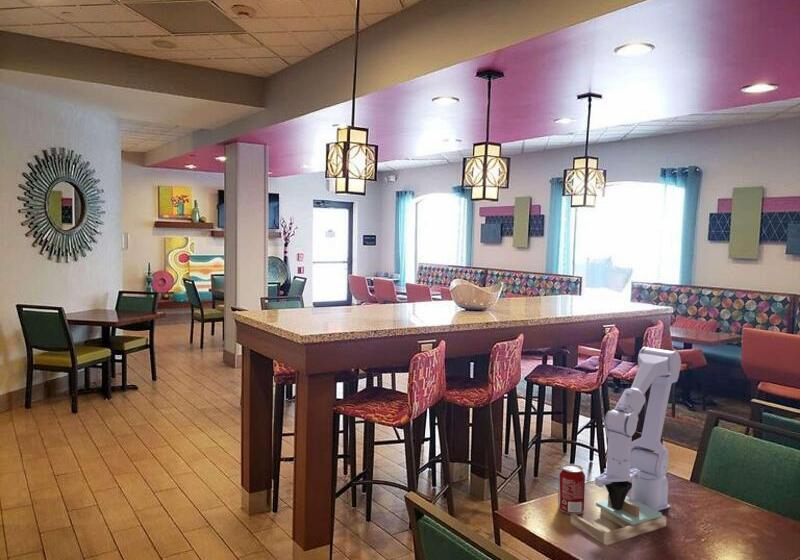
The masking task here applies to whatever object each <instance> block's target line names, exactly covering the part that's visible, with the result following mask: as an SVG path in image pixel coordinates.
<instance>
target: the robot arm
mask: <svg viewBox="0 0 800 560" xmlns="http://www.w3.org/2000/svg"><path fill="white" fill-rule="evenodd" d="M637 365H638V369H637V372H636V374H635V377H634V380H633V382H632V384H631V386H630V388H625V389H624V390H623V392H622V394H621V396H620V398H619V400H617V402H616V405H615V407H614V409H611V410H608V411H607V412H606V414H605V417H604V421H603V427H604V429H605V438H606V439H607V449H606V450H607V451H606V468H604V469H603V471H604V472H603V473H601V474H600V475H598V476H595V477H594V485H595V486H598V488H599V487H600V488H604V486H605V487H606V490H607V493H608V494H609V496H610V500H611V505H612V508H614V509H616V510H621V509H622V507H623V503H624V500H625V498H626V496H627V495H628V494H629V492H630V490H631V497H630V498H632V499H634V500H636V501H638V502H640V503H642V504H644V505H646V506H648V507H650V508H652V509H654V510H656V511H659V512H660V511H662V510H666V509H669V508H670V507H671V506H670V504H668V498H669V497H668V495H669V483H668V479H667V477H666V475H667V474H668V470H669V465H670V464H669V457H670V452H669V451H668V449H667V448H666V447H665V445H664V444H663V443H662V442H661V441H662V440H661V439H662V433H663V429H664V424H665V417H666V413H667V409H668V403H669V398H670V392H671V387H672V384H674V383H677V382H678V381H679V380H678V379H679V378H680V371H681V367H682V360H681V356H680V353H679V352H678V351H677V350H667V349H660V348H655V347H648V346H643V347H642V348H641V349H639V352H638V357H637ZM649 388H650V391H649V396H648V401H647V407H646V412H645V415H644V422H643V427H642V432H641V437H638V438H637V439H634V440H633V439H632V437H633V436H634V434H635V433H636V430H637V426H638V422H639V415H640V413H641V411H642V409H643V406H644V405H645V403H646V397H645V393H646V392H647V390H649ZM632 440H633V441H632ZM631 479H632V480H631ZM630 481H631V482H630ZM627 497H628V496H627Z"/></svg>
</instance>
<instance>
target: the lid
mask: <svg viewBox="0 0 800 560" xmlns="http://www.w3.org/2000/svg"><path fill="white" fill-rule="evenodd" d="M595 506H596V507H598V508H600V509H601V508H602V509H604V510H605V511H607V512H609V513H611V514H613V515H615V516H617V517H619V518H621V519H622V520H624V521H626V522H628V523H630V524H632V525H635V524H638V523H641V522H645V521H648V520H651V519H654V518H658V517H661V516H662V515H663V513H662V512H660V510H659V511H656V510H654V509H652V508H650V507H648V506H646V505H644V504H642V503H640V502H638V501H636V500H634V499H632V498H631V497H630V496H626V498H625V500H624V503H623V507H622V509H621V510H616V509H614V508H612V505H611V500H610V496H609V493H608V496H607V499H604V500H601V501H596V503H595Z"/></svg>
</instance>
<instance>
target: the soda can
mask: <svg viewBox="0 0 800 560" xmlns="http://www.w3.org/2000/svg"><path fill="white" fill-rule="evenodd" d="M585 486H586V474H585V472H584V468H583V466H580V465H579V464H574V463H565V464H562V465H561V469H560V470H559V472H558V497H557V498H558V501H557V508H558V510H559V511H562V512H563V513H564V512H565V513H564V514H566V513H567V515H570V516H571V514H575V515H577V516H578V515H579V514H582V513H584V512H585V495H586V494H585V493H586V488H585Z"/></svg>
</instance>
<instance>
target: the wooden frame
mask: <svg viewBox="0 0 800 560" xmlns="http://www.w3.org/2000/svg"><path fill="white" fill-rule="evenodd" d="M600 515H601V516H602V517H604V518H605V519H607V520H610V521H611V522H614V523H615V524H617V525H619V526H620V527H621V528H617V529H613V530H611V531H608V532H606V531H605V530H604V529H601V528H600V527H598V526H596V525H595V524H593V523H592V522H590V521H587V520H586V519H584V518H582V517H581V516H579V515H578V514H577V515H575V514H571V515H570V524H571V525H572V526H574V527H576V528H577V529H578V530H581V532H584V533H585V534H587V535H589V536H590V537H592V538H594V539H595V540H598V541H599V542H600V543H602V544H604V545H605V546H608V545H612V544H615V543H618V542H621V541H624V540H627V539H630V538H631V539H632V538H634V537H636V536H637V537H638V536H639V535H643V534H646V533H650V532H652V531H656V530H658V529H662V528H666V527H667V516H666V515H663V514H662V516H661V517H658V518H654V519H651V520H648V521H645V522H641V523H638V524H635V525H632V524H630V523H628V522H626V521H624V520H622V519H621V518H619V517H617V516H615V515H613V514H611V513H609V512H607V511H605V510H604V509H602V508H600Z"/></svg>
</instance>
